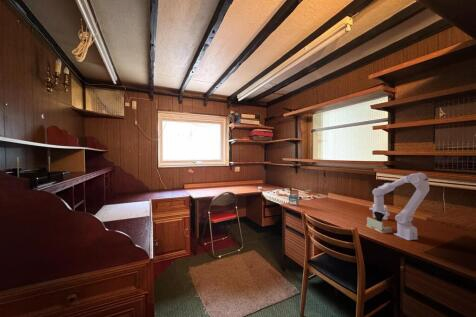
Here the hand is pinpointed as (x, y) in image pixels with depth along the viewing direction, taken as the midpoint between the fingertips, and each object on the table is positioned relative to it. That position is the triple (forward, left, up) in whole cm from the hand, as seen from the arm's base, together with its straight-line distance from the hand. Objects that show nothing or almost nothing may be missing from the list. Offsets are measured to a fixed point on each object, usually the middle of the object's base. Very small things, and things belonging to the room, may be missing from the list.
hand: (379, 222), depth 135 cm
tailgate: (0, +5, -3) cm, 6 cm away
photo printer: (+18, -20, -5) cm, 28 cm away
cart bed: (0, +1, -5) cm, 5 cm away
